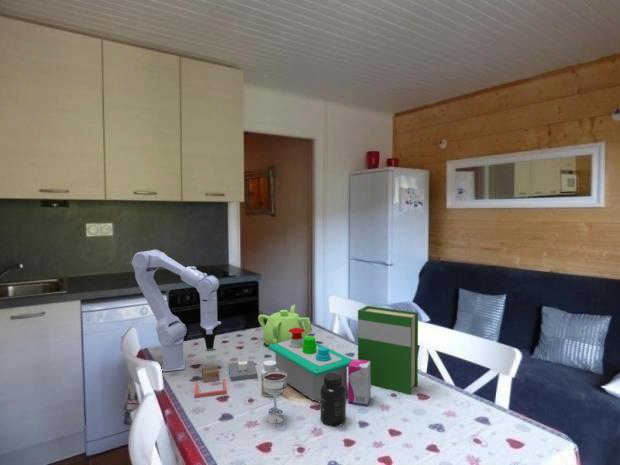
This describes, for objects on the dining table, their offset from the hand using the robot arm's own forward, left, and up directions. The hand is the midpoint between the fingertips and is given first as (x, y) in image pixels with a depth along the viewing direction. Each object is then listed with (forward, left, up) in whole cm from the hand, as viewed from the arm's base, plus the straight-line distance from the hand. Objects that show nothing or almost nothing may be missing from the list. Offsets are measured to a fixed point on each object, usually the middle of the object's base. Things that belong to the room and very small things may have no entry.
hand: (209, 348), depth 139 cm
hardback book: (+27, +56, -8) cm, 63 cm away
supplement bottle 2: (+43, +32, -8) cm, 54 cm away
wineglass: (+38, +17, -8) cm, 43 cm away
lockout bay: (+15, 0, -8) cm, 17 cm away
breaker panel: (+5, +11, -8) cm, 15 cm away
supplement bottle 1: (+23, +18, -8) cm, 31 cm away
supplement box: (+35, +43, -8) cm, 56 cm away
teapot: (-22, +32, -8) cm, 39 cm away
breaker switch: (+7, +11, -6) cm, 14 cm away
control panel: (+20, +32, -8) cm, 38 cm away
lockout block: (+7, 0, -8) cm, 11 cm away
